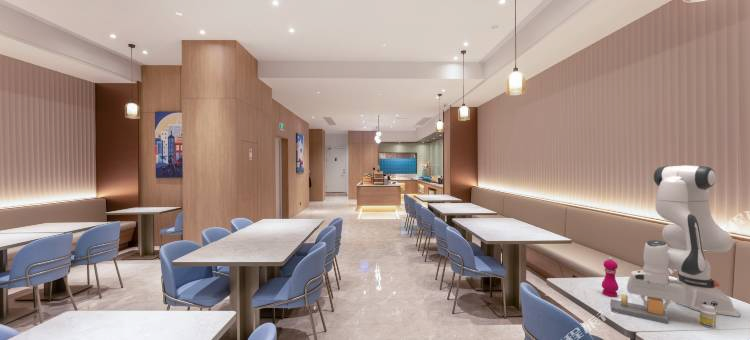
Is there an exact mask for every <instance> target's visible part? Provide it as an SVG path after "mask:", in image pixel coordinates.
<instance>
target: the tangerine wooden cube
mask: <svg viewBox="0 0 750 340" xmlns="http://www.w3.org/2000/svg"><path fill="white" fill-rule="evenodd" d="M646 298H647V299H646V301H648V306H647V310H648V312H650V313H655V314H660V315H663V304H664V299H659V298H653V297H648V296H646Z"/></svg>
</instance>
